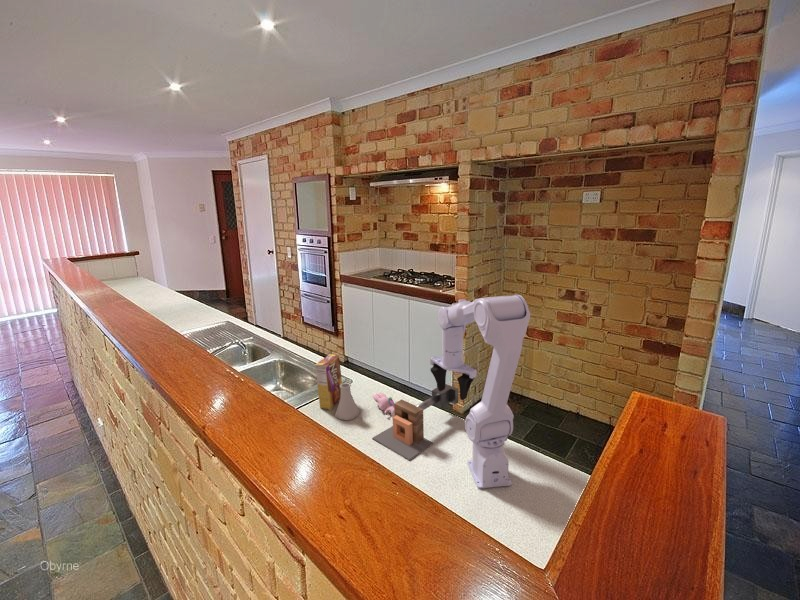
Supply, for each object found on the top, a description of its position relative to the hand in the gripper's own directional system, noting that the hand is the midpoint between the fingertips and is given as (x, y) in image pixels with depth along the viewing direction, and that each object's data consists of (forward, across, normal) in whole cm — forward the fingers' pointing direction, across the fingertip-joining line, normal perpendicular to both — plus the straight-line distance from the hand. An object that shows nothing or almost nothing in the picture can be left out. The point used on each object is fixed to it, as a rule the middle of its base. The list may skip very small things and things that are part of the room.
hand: (452, 394), depth 110 cm
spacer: (+10, +6, +14) cm, 19 cm away
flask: (+11, +28, +16) cm, 34 cm away
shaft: (+6, +6, +3) cm, 9 cm away
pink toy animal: (+11, +21, +6) cm, 24 cm away
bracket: (+10, +6, +12) cm, 17 cm away
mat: (+10, +6, +15) cm, 19 cm away
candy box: (+11, +38, +15) cm, 43 cm away
